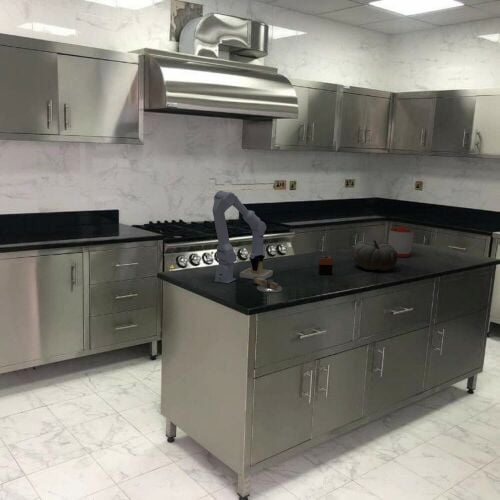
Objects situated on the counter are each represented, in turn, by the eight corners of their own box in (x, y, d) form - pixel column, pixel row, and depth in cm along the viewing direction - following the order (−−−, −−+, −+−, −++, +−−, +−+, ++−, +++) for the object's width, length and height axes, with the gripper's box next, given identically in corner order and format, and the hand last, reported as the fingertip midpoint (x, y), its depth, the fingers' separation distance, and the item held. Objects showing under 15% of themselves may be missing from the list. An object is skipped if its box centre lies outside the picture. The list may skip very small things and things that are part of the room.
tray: (263, 280, 272) (263, 275, 272) (239, 277, 277) (239, 272, 277) (272, 275, 284) (272, 270, 283) (249, 272, 289) (249, 267, 288)
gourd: (342, 259, 316) (350, 231, 312) (377, 265, 326) (386, 237, 322) (363, 274, 294) (372, 243, 290) (401, 279, 303) (410, 250, 299)
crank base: (277, 293, 249) (277, 291, 249) (253, 290, 253) (253, 288, 253) (285, 287, 260) (285, 286, 260) (262, 284, 264) (262, 282, 264)
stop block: (258, 274, 277) (259, 263, 276) (251, 273, 279) (252, 262, 278) (261, 272, 281) (262, 261, 280) (254, 271, 283) (255, 260, 281)
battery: (318, 273, 293) (319, 255, 291) (330, 273, 293) (331, 255, 291) (319, 275, 289) (320, 256, 287) (332, 275, 289) (333, 257, 287)
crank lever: (278, 288, 254) (279, 281, 254) (274, 289, 252) (274, 282, 252) (256, 281, 265) (256, 274, 265) (251, 282, 263) (251, 275, 263)
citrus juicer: (419, 258, 344) (422, 226, 341) (394, 258, 340) (397, 226, 336) (406, 253, 359) (409, 223, 355) (382, 253, 355) (385, 223, 351)
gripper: (259, 246, 269) (258, 273, 272) (270, 242, 282) (268, 267, 285) (246, 245, 272) (245, 271, 274) (257, 241, 285) (256, 266, 288)
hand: (256, 269), depth 280 cm, fingers closed on stop block, 4 cm apart
